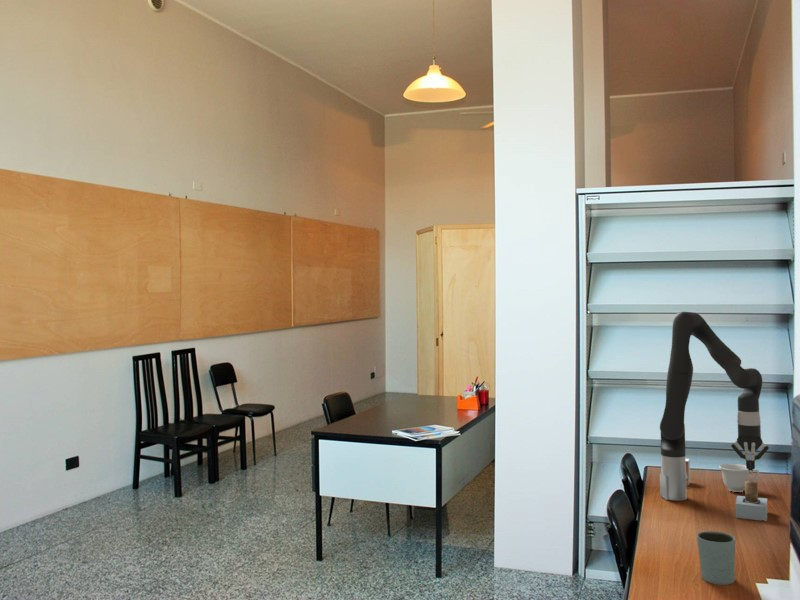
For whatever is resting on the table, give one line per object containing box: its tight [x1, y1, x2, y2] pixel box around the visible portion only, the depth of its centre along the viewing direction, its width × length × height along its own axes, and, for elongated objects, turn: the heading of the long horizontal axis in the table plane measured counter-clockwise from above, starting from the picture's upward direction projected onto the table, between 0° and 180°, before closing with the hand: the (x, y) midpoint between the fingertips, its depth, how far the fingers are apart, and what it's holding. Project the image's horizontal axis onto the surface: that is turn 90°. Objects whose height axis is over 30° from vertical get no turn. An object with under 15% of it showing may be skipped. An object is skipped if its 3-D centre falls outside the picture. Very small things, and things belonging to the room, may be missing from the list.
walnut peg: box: [744, 480, 759, 504], centre depth 255 cm, size 4×4×12 cm
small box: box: [685, 458, 691, 486], centre depth 302 cm, size 8×6×10 cm
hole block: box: [735, 495, 769, 522], centre depth 255 cm, size 12×10×5 cm
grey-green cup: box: [696, 530, 736, 586], centre depth 197 cm, size 10×10×12 cm
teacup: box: [718, 463, 760, 493], centre depth 286 cm, size 12×15×10 cm
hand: (750, 470), depth 255 cm, fingers closed
